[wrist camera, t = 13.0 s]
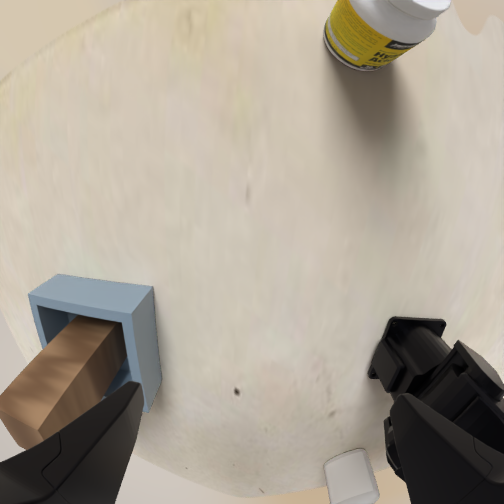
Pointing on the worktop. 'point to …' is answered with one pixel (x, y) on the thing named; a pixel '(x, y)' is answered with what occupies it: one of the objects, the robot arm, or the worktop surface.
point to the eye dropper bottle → (351, 479)
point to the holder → (109, 308)
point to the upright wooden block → (63, 379)
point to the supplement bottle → (379, 29)
